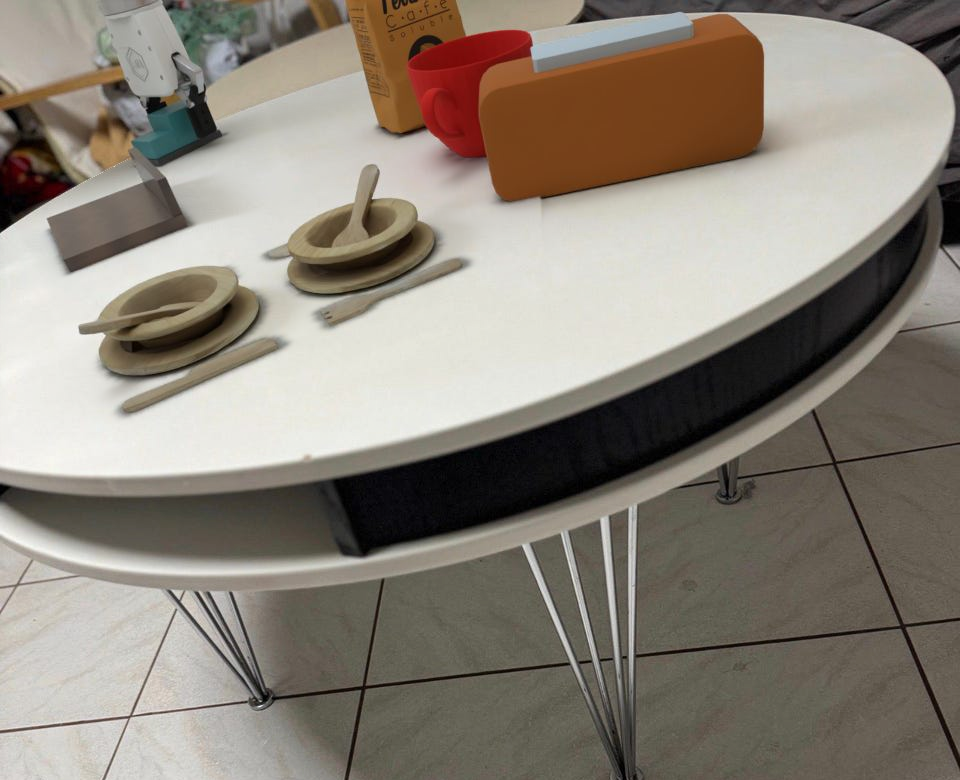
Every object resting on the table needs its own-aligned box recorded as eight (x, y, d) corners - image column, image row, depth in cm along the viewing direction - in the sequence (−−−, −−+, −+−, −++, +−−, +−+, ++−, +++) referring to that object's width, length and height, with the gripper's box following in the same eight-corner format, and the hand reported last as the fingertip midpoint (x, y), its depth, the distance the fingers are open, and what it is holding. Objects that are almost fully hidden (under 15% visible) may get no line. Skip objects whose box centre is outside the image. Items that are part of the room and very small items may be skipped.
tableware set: (123, 421, 59) (81, 351, 55) (93, 326, 74) (58, 266, 70) (478, 266, 67) (462, 196, 63) (387, 208, 81) (369, 148, 78)
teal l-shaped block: (161, 169, 111) (142, 126, 107) (140, 167, 114) (120, 126, 110) (223, 138, 117) (207, 97, 113) (201, 137, 120) (184, 97, 116)
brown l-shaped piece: (72, 275, 85) (42, 223, 82) (54, 232, 99) (27, 185, 95) (189, 229, 89) (165, 177, 85) (157, 193, 102) (135, 146, 99)
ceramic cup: (390, 190, 85) (362, 89, 79) (462, 129, 96) (442, 37, 90) (502, 186, 79) (480, 78, 73) (565, 122, 90) (551, 23, 84)
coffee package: (490, 112, 99) (448, -104, 85) (395, 145, 97) (336, -72, 83) (462, 97, 107) (419, -104, 93) (373, 127, 105) (316, -74, 91)
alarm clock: (742, 125, 78) (740, -8, 71) (764, 154, 72) (765, 11, 65) (496, 176, 82) (472, 54, 75) (496, 208, 75) (470, 78, 68)
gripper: (71, 12, 108) (132, 143, 118) (142, 2, 98) (202, 146, 108) (118, -4, 112) (173, 123, 122) (191, -16, 102) (244, 124, 112)
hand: (187, 134), depth 115 cm, fingers open, 9 cm apart
